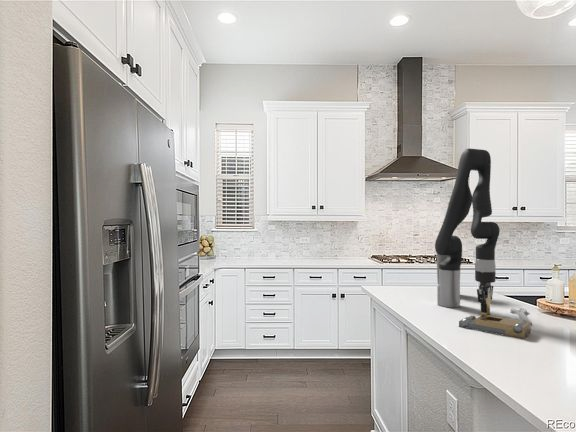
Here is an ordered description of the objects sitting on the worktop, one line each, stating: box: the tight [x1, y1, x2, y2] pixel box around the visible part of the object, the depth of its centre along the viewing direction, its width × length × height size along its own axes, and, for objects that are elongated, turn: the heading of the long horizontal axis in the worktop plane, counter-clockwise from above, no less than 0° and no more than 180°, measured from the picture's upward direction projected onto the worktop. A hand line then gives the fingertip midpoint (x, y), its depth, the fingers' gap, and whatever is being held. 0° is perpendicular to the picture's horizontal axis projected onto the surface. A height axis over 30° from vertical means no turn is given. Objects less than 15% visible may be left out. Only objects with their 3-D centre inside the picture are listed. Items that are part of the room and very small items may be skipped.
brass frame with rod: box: [458, 314, 532, 340], centre depth 142 cm, size 22×10×4 cm, turn 46°
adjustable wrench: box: [510, 307, 532, 323], centre depth 160 cm, size 25×6×2 cm, turn 152°
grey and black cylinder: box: [436, 235, 454, 285], centre depth 206 cm, size 13×13×35 cm
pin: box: [480, 293, 491, 316], centre depth 157 cm, size 3×3×11 cm
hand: (485, 311), depth 157 cm, fingers closed on pin, 3 cm apart
